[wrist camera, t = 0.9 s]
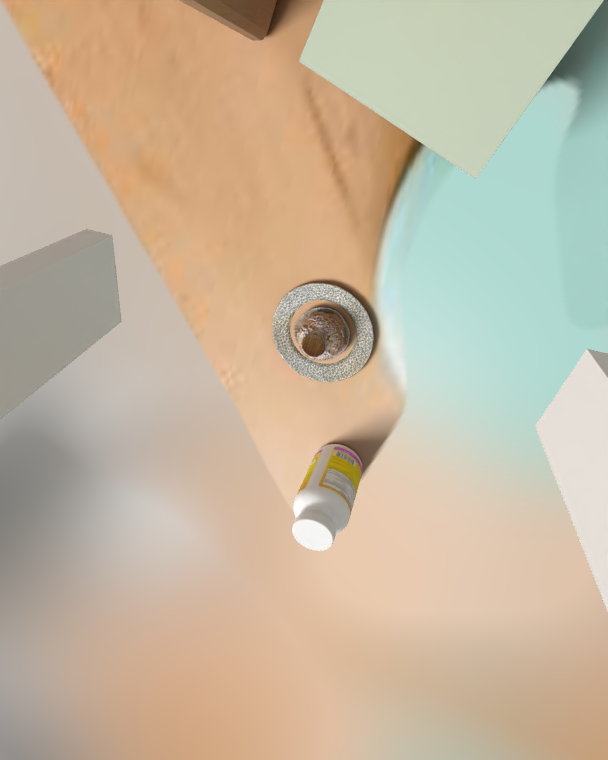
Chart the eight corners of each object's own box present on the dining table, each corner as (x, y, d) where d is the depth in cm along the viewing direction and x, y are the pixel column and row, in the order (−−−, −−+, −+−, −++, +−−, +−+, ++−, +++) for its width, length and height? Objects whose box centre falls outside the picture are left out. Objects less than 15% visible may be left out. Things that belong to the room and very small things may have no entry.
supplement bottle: (323, 482, 59) (294, 557, 48) (309, 444, 56) (274, 513, 45) (369, 480, 56) (349, 558, 45) (356, 439, 53) (331, 511, 43)
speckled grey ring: (389, 365, 48) (383, 383, 44) (298, 386, 53) (285, 405, 49) (354, 265, 44) (344, 276, 40) (259, 299, 49) (242, 311, 45)
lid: (615, -19, 23) (691, -100, 16) (475, 178, 29) (481, 186, 22) (396, -164, 23) (369, -314, 16) (302, 63, 29) (251, 33, 22)
